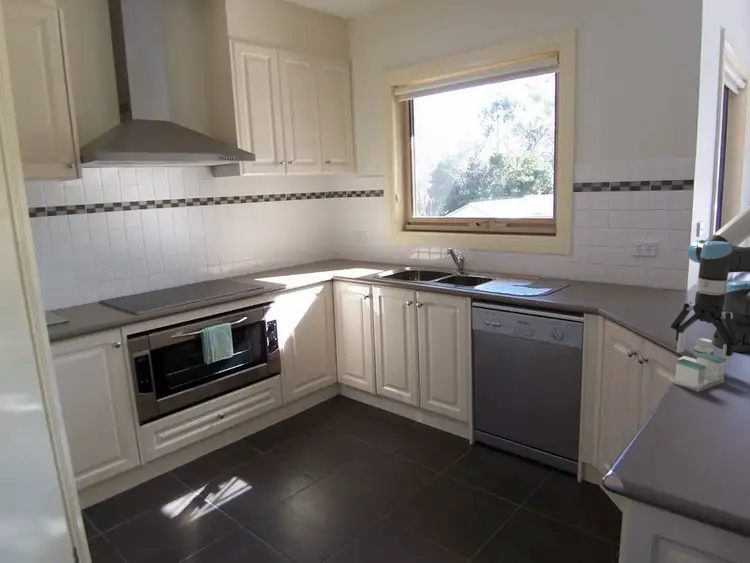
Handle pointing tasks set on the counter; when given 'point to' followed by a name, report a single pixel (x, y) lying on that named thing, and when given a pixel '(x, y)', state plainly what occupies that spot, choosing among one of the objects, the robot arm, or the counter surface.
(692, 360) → the block
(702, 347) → the pill bottle
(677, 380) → the teal white block
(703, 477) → the counter surface
